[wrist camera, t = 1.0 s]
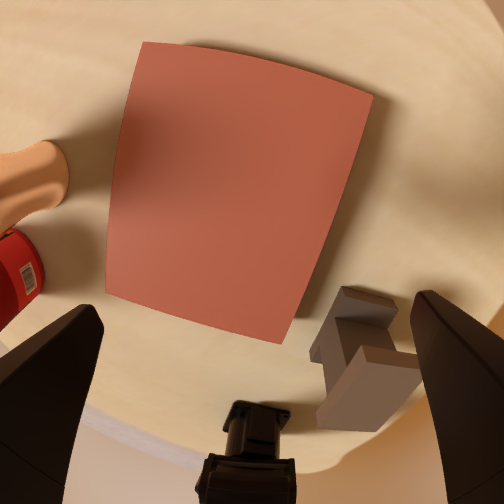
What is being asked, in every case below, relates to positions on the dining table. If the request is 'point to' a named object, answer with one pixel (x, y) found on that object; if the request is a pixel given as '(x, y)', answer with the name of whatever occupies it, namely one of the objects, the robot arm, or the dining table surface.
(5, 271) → the canned food
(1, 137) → the dining table surface
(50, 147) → the beer glass
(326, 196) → the reddish-brown flat board
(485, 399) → the robot arm
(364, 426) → the pedestal
